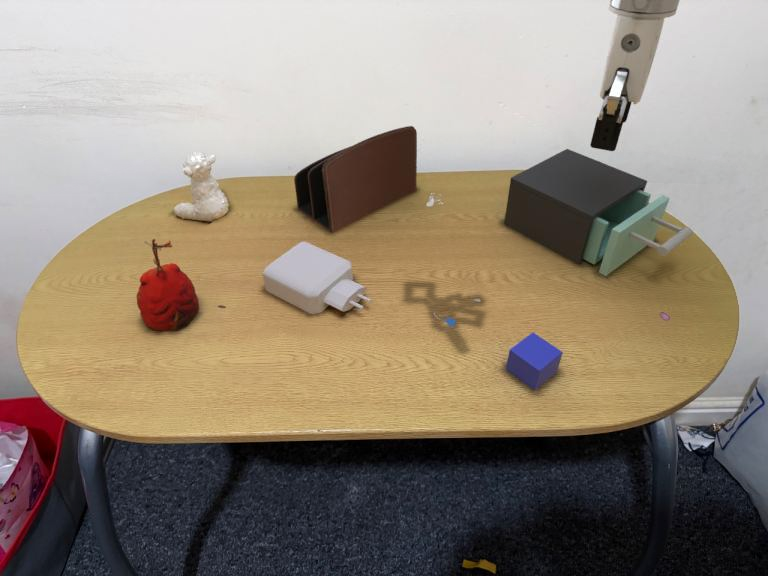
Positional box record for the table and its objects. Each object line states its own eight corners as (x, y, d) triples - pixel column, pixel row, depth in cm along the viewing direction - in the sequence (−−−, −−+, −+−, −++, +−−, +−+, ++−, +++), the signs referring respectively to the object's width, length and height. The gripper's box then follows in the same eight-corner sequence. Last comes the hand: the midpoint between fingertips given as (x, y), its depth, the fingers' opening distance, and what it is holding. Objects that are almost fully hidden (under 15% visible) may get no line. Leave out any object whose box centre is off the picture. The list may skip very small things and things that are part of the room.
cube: (527, 356, 68) (532, 331, 65) (556, 376, 66) (563, 352, 63) (504, 373, 66) (509, 349, 63) (533, 395, 64) (539, 371, 61)
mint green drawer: (688, 257, 81) (708, 213, 76) (641, 295, 75) (659, 251, 70) (580, 206, 93) (591, 165, 88) (531, 236, 86) (539, 194, 81)
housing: (630, 232, 88) (647, 180, 82) (577, 269, 81) (592, 216, 75) (556, 197, 97) (567, 148, 90) (503, 228, 90) (510, 177, 83)
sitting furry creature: (218, 194, 100) (202, 133, 92) (247, 209, 96) (233, 147, 88) (174, 216, 95) (153, 153, 87) (202, 233, 91) (183, 169, 83)
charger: (346, 337, 71) (266, 295, 78) (386, 299, 77) (308, 262, 84) (344, 311, 68) (261, 270, 75) (386, 273, 74) (305, 238, 81)
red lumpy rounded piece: (189, 295, 79) (158, 208, 69) (212, 319, 75) (184, 230, 65) (139, 320, 75) (99, 231, 65) (161, 347, 71) (122, 257, 61)
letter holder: (417, 194, 99) (419, 121, 89) (332, 237, 89) (323, 160, 80) (381, 175, 104) (379, 104, 95) (297, 213, 95) (286, 138, 85)
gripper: (673, 19, 56) (628, 166, 67) (685, -16, 68) (644, 115, 79) (599, 12, 59) (567, 155, 70) (622, -21, 70) (592, 106, 81)
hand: (608, 133), depth 74 cm, fingers open, 9 cm apart
